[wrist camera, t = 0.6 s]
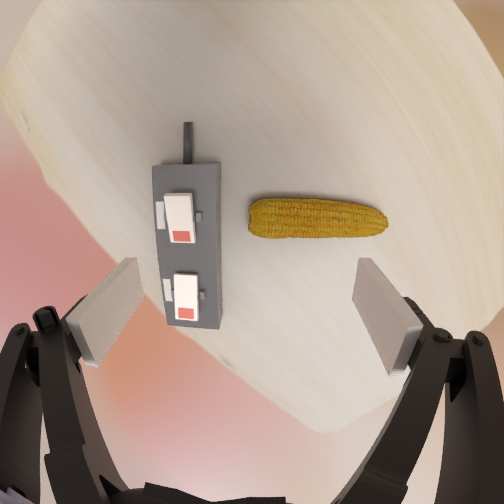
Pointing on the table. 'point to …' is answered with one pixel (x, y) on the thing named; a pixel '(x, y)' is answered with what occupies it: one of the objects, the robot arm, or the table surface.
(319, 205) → the food
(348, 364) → the table surface
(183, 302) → the far rocker
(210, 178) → the power strip
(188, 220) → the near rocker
